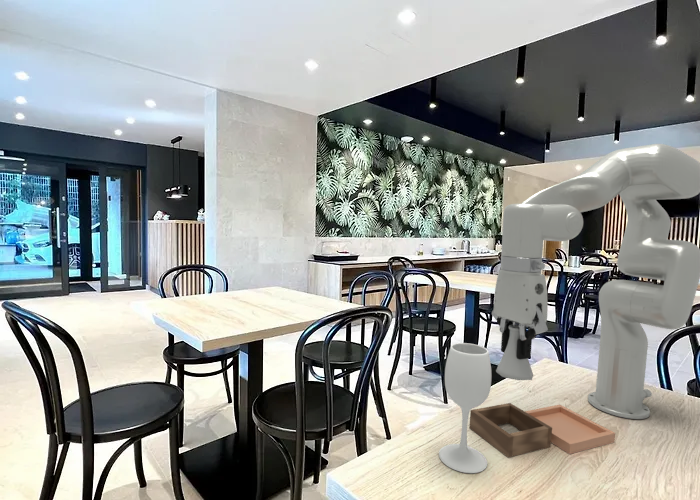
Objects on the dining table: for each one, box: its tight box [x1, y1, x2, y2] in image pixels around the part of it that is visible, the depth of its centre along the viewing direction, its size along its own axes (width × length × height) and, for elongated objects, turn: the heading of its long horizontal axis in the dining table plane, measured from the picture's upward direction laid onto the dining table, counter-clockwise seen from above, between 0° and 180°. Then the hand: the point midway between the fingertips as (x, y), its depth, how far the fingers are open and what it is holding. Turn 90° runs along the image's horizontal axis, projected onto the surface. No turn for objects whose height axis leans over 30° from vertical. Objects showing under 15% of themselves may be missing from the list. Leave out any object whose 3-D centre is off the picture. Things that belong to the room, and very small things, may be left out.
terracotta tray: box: [524, 404, 616, 455], centre depth 83 cm, size 13×13×2 cm
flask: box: [495, 324, 534, 381], centre depth 78 cm, size 7×7×10 cm
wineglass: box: [438, 342, 492, 474], centre depth 71 cm, size 9×9×21 cm
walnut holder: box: [469, 402, 552, 459], centre depth 79 cm, size 11×11×4 cm
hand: (515, 353), depth 78 cm, fingers closed on flask, 3 cm apart
